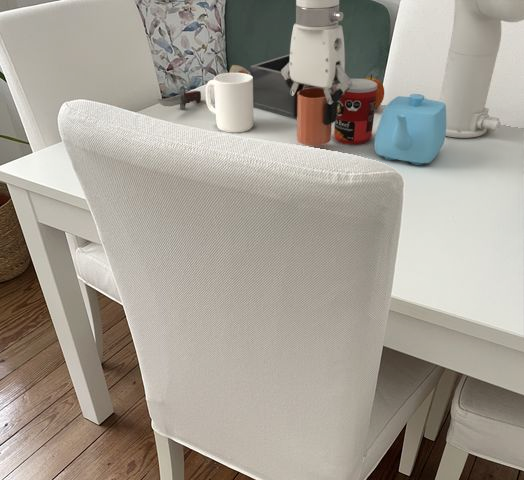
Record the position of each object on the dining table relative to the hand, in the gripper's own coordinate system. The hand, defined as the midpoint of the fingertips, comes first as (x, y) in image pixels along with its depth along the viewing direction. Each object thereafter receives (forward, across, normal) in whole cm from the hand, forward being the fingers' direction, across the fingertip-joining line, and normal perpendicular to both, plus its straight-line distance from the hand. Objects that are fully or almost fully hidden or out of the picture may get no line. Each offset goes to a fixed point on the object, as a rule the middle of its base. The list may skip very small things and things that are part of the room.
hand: (314, 118), depth 112 cm
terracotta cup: (+4, 0, 0) cm, 4 cm away
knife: (+6, +39, +1) cm, 39 cm away
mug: (+6, +35, -18) cm, 40 cm away
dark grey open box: (+6, +20, -19) cm, 29 cm away
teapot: (+7, -17, -8) cm, 20 cm away
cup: (+6, +23, +1) cm, 24 cm away
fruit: (+7, +5, -28) cm, 30 cm away
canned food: (+7, -3, -10) cm, 13 cm away
